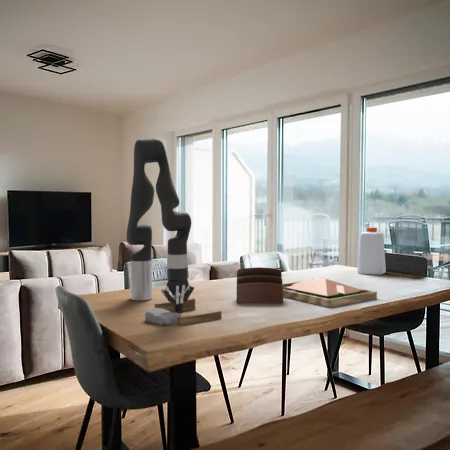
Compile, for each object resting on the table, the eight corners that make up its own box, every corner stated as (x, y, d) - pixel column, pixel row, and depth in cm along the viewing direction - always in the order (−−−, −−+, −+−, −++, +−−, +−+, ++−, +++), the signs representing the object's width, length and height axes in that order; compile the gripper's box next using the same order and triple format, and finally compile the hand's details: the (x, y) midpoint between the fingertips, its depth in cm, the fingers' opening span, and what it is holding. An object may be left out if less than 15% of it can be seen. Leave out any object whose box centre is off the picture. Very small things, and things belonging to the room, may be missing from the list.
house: (332, 304, 184) (332, 285, 184) (279, 292, 211) (279, 275, 211) (367, 298, 197) (367, 280, 197) (313, 287, 224) (313, 271, 224)
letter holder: (236, 298, 197) (236, 267, 197) (281, 298, 196) (281, 267, 196) (236, 303, 187) (236, 270, 187) (283, 303, 186) (283, 270, 186)
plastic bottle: (381, 275, 261) (381, 228, 260) (355, 273, 269) (355, 227, 268) (387, 272, 274) (387, 227, 273) (362, 270, 282) (362, 227, 281)
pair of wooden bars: (154, 314, 168) (154, 303, 168) (193, 308, 177) (193, 298, 177) (180, 325, 151) (180, 313, 151) (221, 318, 161) (221, 307, 161)
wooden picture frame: (265, 292, 210) (265, 286, 210) (310, 285, 228) (310, 280, 228) (329, 307, 177) (329, 299, 177) (376, 298, 195) (376, 291, 195)
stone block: (163, 320, 165) (141, 320, 158) (165, 308, 166) (144, 306, 158) (184, 327, 157) (162, 327, 150) (186, 314, 157) (164, 313, 150)
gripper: (188, 264, 168) (188, 309, 169) (156, 266, 161) (157, 314, 161) (198, 265, 162) (199, 312, 163) (166, 269, 155) (166, 318, 155)
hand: (178, 313), depth 162 cm, fingers closed
